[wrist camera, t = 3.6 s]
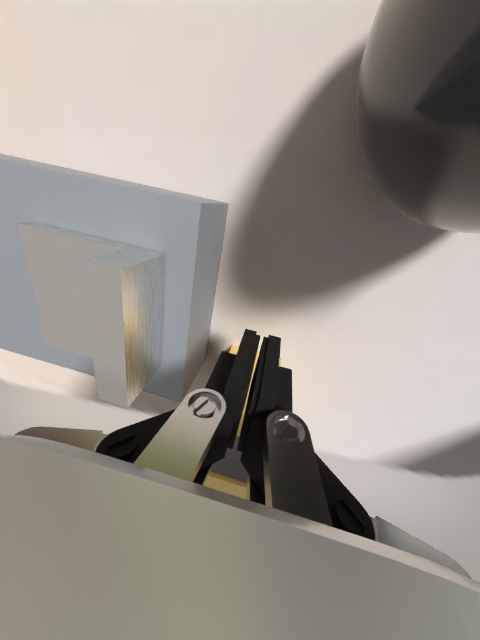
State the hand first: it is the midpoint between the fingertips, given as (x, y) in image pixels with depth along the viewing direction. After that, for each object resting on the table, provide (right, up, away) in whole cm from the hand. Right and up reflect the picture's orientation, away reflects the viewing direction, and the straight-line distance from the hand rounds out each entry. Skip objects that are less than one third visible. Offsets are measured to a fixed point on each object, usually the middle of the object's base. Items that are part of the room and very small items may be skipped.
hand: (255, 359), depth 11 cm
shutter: (-8, +3, +2) cm, 9 cm away
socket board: (-10, +6, +7) cm, 14 cm away
